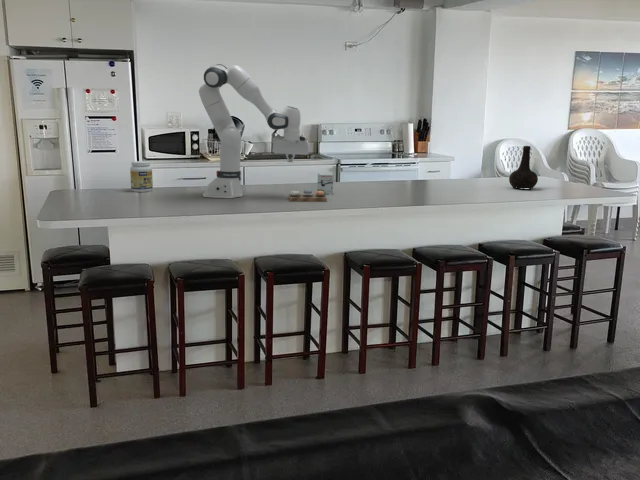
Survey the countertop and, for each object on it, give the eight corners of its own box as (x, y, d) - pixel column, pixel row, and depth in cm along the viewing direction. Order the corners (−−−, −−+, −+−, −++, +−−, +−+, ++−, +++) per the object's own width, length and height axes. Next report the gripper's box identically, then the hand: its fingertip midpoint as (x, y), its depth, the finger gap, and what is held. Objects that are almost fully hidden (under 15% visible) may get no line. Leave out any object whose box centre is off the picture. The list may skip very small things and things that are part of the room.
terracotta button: (316, 195, 331) (316, 191, 331) (316, 194, 335) (316, 190, 335) (324, 195, 332) (324, 192, 331) (323, 194, 336) (323, 190, 335)
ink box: (319, 194, 352) (319, 174, 350) (316, 193, 357) (317, 173, 354) (333, 194, 355) (333, 174, 352) (331, 193, 359) (331, 173, 357)
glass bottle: (508, 189, 389) (512, 146, 382) (508, 186, 406) (512, 144, 399) (537, 191, 384) (542, 147, 377) (536, 187, 401) (540, 145, 394)
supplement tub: (139, 193, 343) (138, 163, 339) (126, 190, 350) (125, 161, 346) (157, 190, 353) (156, 161, 349) (144, 188, 360) (143, 160, 356)
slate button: (304, 193, 330) (304, 190, 330) (303, 192, 334) (303, 188, 334) (312, 193, 331) (312, 190, 330) (311, 192, 335) (311, 189, 334)
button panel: (290, 201, 327) (290, 197, 326) (289, 197, 338) (289, 193, 338) (326, 201, 329) (326, 197, 328) (324, 198, 340) (324, 194, 340)
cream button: (291, 195, 330) (291, 191, 329) (290, 194, 334) (290, 190, 334) (299, 195, 330) (299, 191, 330) (298, 194, 334) (298, 190, 334)
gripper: (272, 136, 327) (271, 161, 330) (310, 138, 329) (308, 163, 332) (272, 135, 333) (271, 160, 336) (309, 137, 335) (307, 162, 338)
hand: (290, 162), depth 334 cm, fingers closed
